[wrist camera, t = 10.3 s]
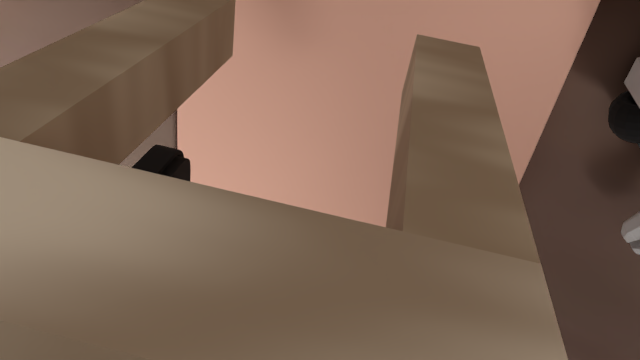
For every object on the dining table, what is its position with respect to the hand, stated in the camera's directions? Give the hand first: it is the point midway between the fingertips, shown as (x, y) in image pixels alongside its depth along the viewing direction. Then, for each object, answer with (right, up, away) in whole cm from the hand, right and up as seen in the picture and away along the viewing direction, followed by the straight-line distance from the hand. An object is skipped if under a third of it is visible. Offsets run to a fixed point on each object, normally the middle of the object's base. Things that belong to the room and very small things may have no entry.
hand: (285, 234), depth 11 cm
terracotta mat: (+2, +5, +8) cm, 10 cm away
